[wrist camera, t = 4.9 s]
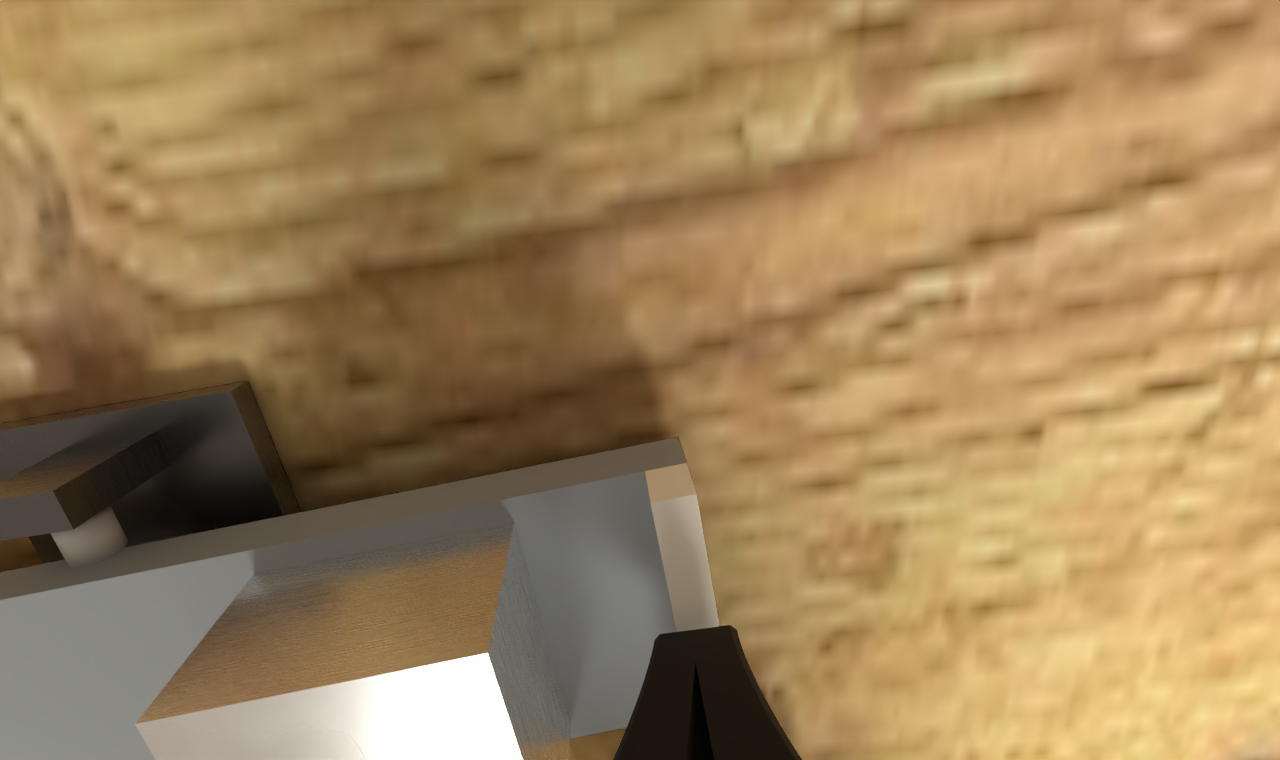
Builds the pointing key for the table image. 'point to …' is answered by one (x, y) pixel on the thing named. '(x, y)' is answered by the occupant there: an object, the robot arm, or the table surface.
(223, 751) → the steel weight
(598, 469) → the seesaw beam
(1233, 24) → the table surface
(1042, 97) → the table surface
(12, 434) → the pivot stand
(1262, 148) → the table surface
